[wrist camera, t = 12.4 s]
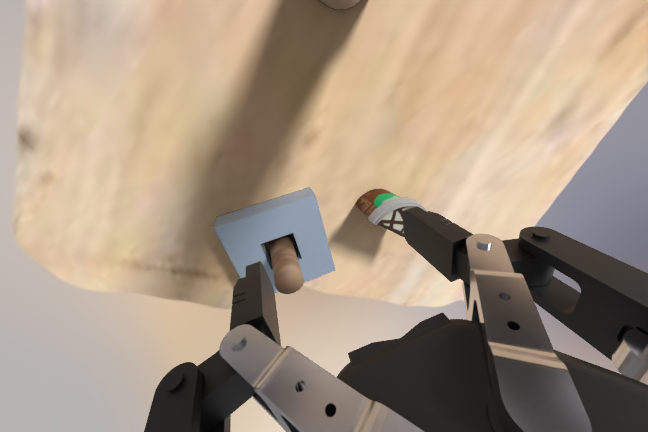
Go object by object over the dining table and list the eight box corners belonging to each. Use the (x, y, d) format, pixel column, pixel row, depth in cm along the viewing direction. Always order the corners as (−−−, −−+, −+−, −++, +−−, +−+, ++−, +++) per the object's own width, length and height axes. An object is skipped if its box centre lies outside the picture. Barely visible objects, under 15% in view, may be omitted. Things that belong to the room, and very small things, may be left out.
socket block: (309, 187, 41) (315, 194, 37) (329, 258, 49) (335, 270, 45) (216, 216, 39) (213, 228, 35) (252, 286, 46) (252, 301, 43)
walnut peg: (287, 226, 43) (299, 266, 33) (293, 244, 45) (306, 287, 34) (265, 234, 42) (271, 277, 32) (273, 251, 44) (280, 297, 34)
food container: (412, 198, 48) (448, 219, 39) (395, 223, 49) (426, 249, 41) (366, 171, 43) (396, 189, 34) (349, 200, 44) (373, 224, 35)
